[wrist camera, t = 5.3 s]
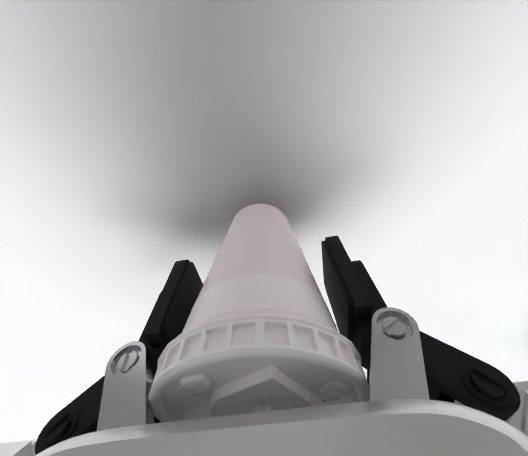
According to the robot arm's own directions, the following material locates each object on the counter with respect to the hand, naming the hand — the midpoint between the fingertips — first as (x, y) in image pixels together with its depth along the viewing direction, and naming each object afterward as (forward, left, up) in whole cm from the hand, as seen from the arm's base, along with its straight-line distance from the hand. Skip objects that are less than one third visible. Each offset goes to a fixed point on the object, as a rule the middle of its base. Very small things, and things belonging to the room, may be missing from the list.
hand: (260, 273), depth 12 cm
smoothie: (0, 0, -4) cm, 4 cm away
